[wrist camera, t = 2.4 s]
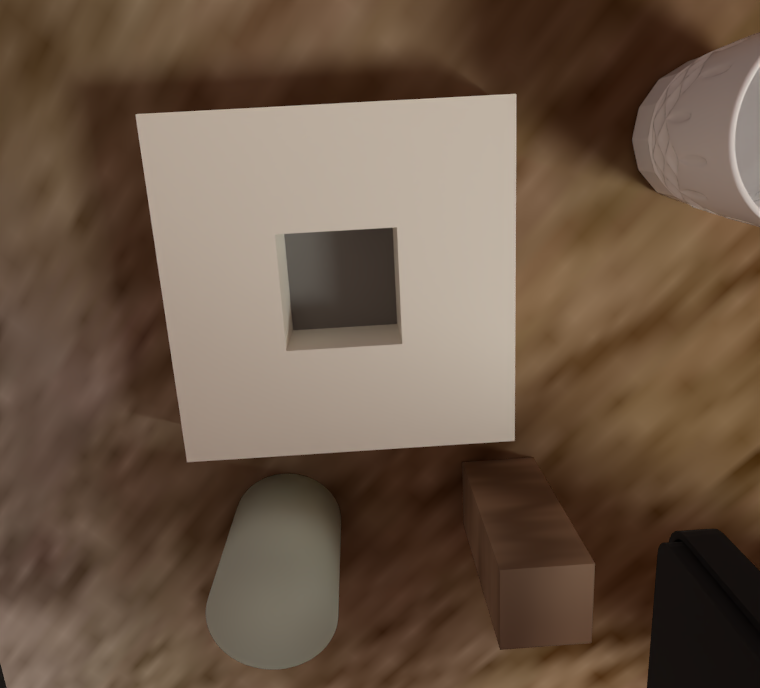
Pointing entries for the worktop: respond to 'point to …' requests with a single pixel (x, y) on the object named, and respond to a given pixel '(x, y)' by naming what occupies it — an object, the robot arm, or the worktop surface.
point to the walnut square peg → (527, 555)
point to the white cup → (706, 132)
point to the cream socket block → (337, 273)
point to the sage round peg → (278, 574)
